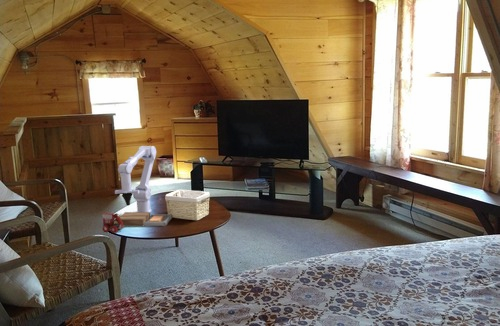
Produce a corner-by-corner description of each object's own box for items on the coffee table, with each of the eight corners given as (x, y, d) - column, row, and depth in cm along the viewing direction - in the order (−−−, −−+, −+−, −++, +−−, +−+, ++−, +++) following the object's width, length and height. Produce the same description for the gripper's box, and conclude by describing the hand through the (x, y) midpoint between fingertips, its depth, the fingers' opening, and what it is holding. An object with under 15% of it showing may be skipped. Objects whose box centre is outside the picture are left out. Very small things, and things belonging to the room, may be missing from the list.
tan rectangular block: (163, 215, 264) (163, 218, 265) (153, 215, 265) (154, 218, 265) (159, 220, 255) (159, 223, 256) (149, 220, 256) (149, 223, 256)
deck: (125, 218, 270) (125, 212, 269) (150, 218, 268) (150, 212, 267) (117, 226, 256) (116, 219, 255) (143, 225, 255) (142, 219, 254)
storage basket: (165, 217, 269) (163, 194, 266) (180, 210, 283) (178, 188, 280) (197, 222, 259) (196, 198, 256) (211, 214, 273) (210, 191, 270)
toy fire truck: (119, 233, 243) (117, 215, 241) (100, 232, 246) (98, 214, 244) (126, 229, 250) (124, 212, 248) (107, 228, 253) (105, 211, 251)
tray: (151, 218, 269) (151, 214, 268) (172, 218, 267) (171, 214, 267) (143, 226, 254) (143, 222, 254) (165, 226, 253) (165, 222, 252)
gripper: (112, 185, 258) (114, 206, 260) (135, 184, 256) (137, 206, 259) (116, 182, 265) (118, 203, 267) (139, 182, 263) (141, 203, 266)
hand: (128, 205), depth 263 cm, fingers closed
